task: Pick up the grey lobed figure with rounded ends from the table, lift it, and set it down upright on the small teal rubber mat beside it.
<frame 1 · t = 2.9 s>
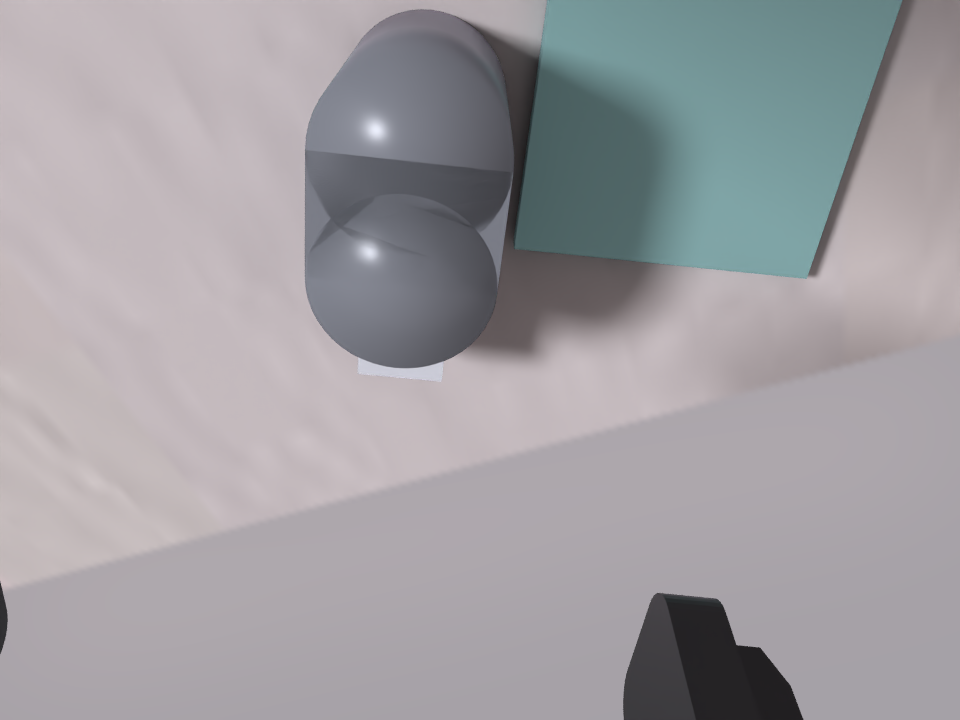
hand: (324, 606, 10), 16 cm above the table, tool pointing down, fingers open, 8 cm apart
mat: (693, 108, 23), on the table
grey lobed figure: (421, 149, 24), on the table
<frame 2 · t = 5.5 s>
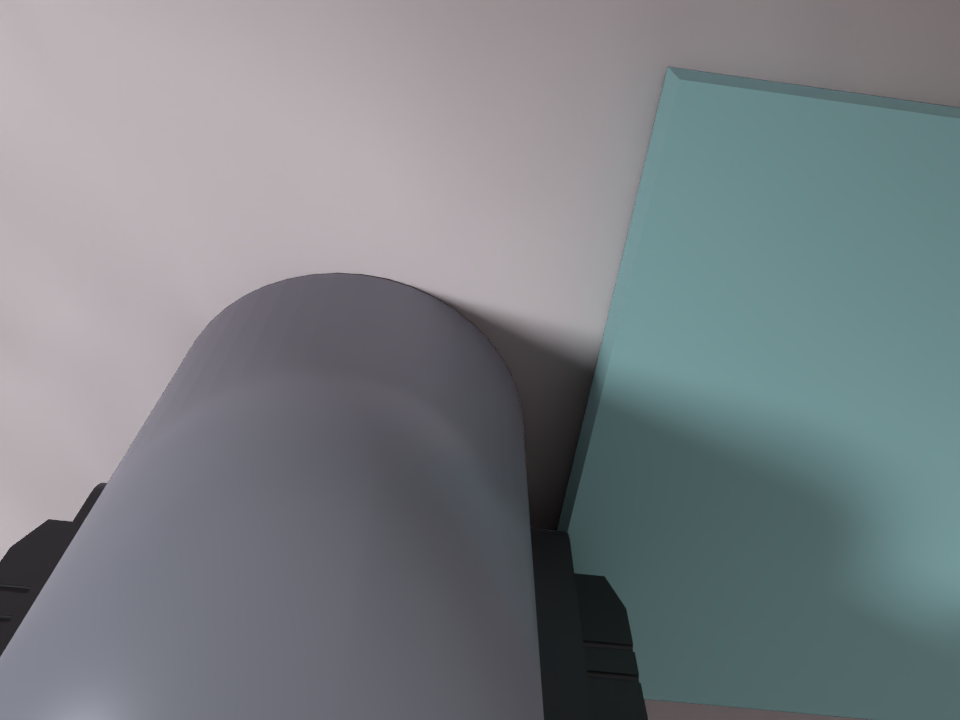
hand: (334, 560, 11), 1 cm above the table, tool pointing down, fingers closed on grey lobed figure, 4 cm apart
mat: (913, 461, 11), on the table
grey lobed figure: (345, 516, 12), on the table, touching gripper
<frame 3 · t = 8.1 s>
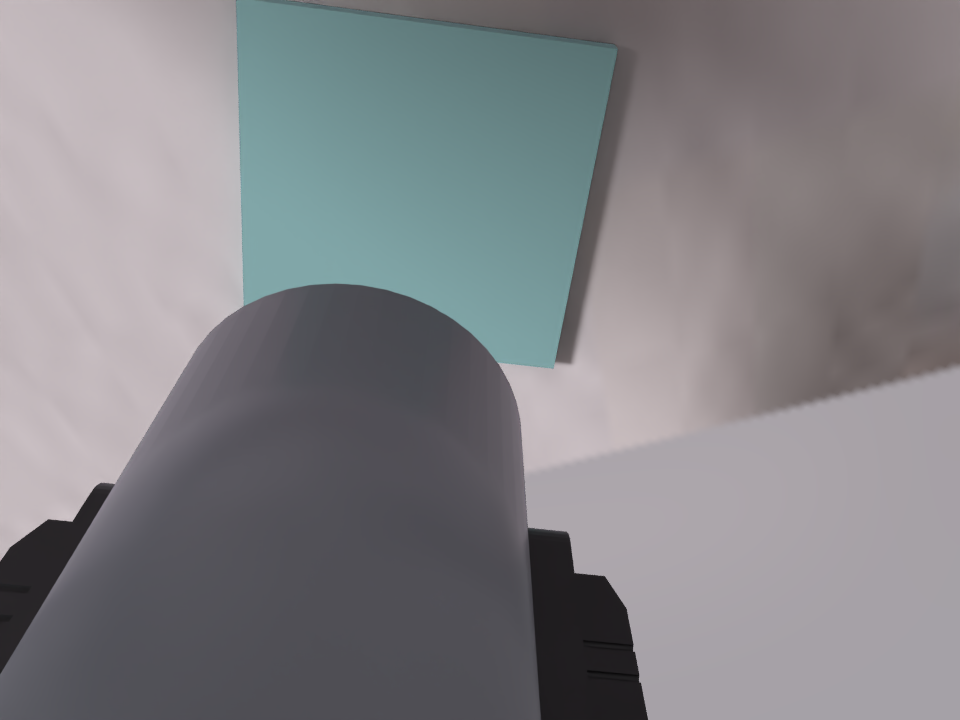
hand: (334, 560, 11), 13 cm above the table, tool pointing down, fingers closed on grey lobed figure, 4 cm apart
mat: (415, 197, 22), on the table
grey lobed figure: (344, 524, 12), point 12 cm above the table, touching gripper
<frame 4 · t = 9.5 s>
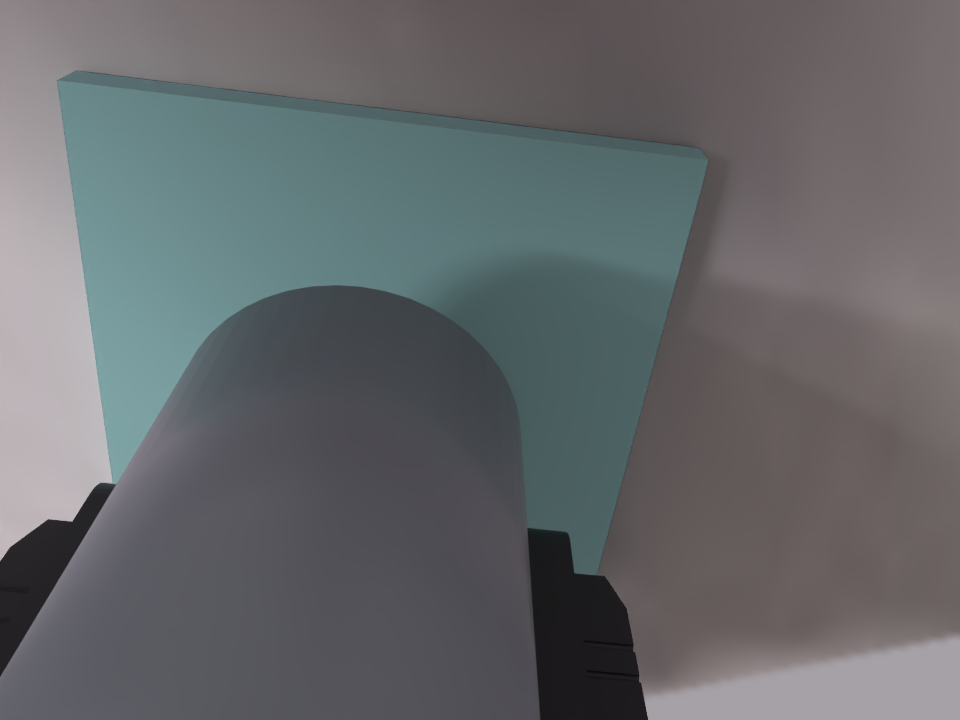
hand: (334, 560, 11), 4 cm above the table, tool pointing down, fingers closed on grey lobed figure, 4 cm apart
mat: (376, 373, 14), on the table
grey lobed figure: (344, 525, 12), point 3 cm above the table, touching gripper
when the fingers open (3 cm above the table, at t = 10.6 s): grey lobed figure drops 2 cm, resting on mat.
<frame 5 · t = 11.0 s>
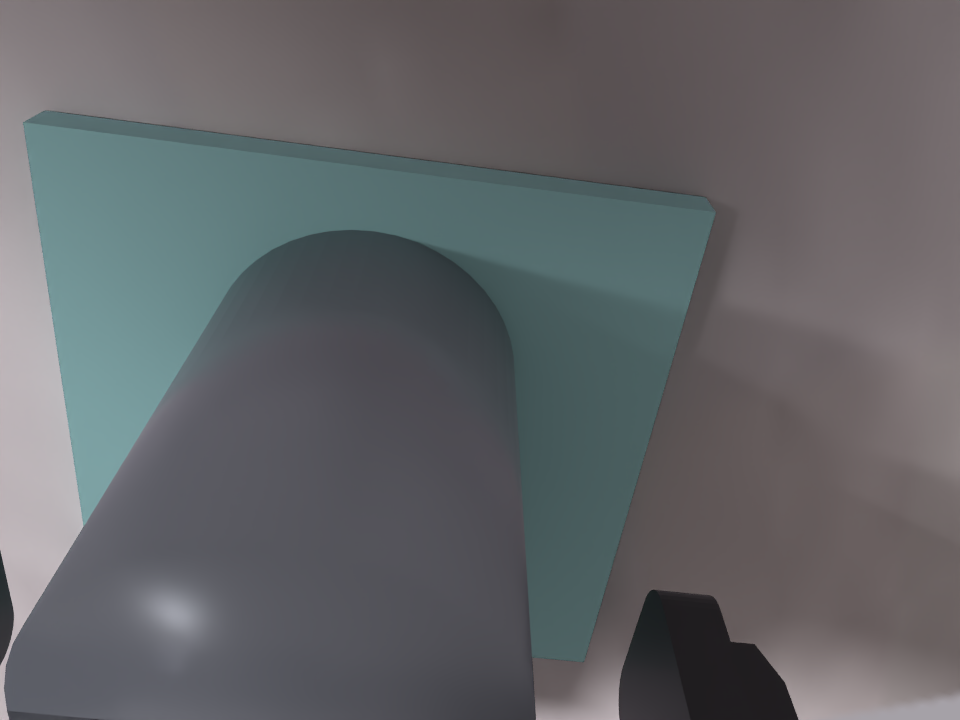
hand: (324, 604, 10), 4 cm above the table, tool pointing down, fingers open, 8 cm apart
mat: (363, 423, 13), on the table
grey lobed figure: (356, 451, 13), point 1 cm above the table, touching mat
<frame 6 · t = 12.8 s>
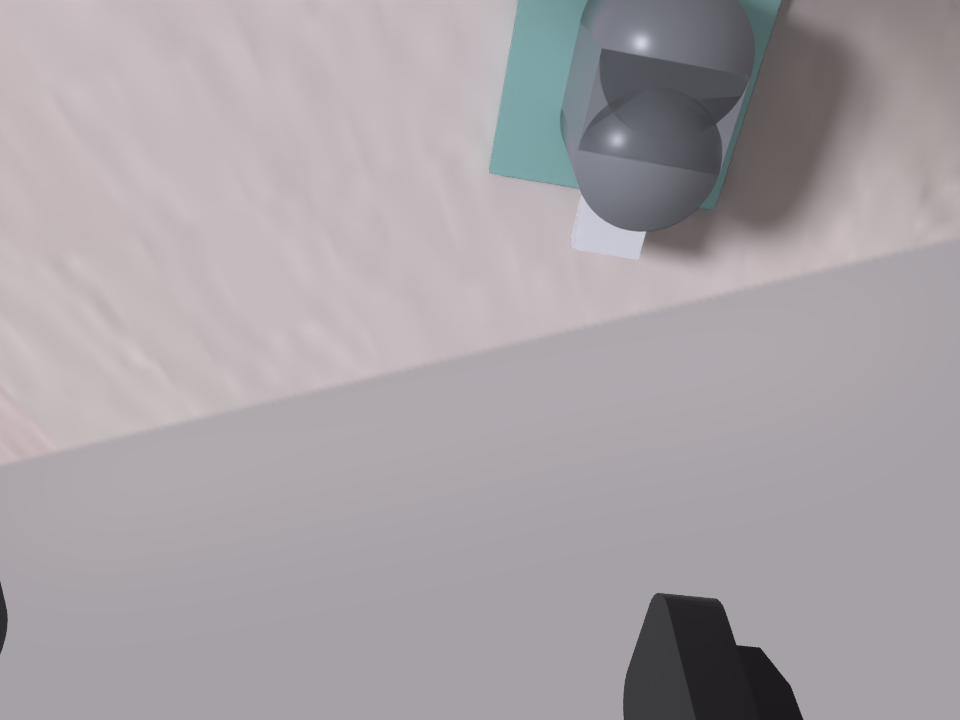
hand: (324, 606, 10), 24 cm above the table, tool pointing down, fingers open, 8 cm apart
mat: (629, 70, 30), on the table
grey lobed figure: (630, 76, 30), point 1 cm above the table, touching mat
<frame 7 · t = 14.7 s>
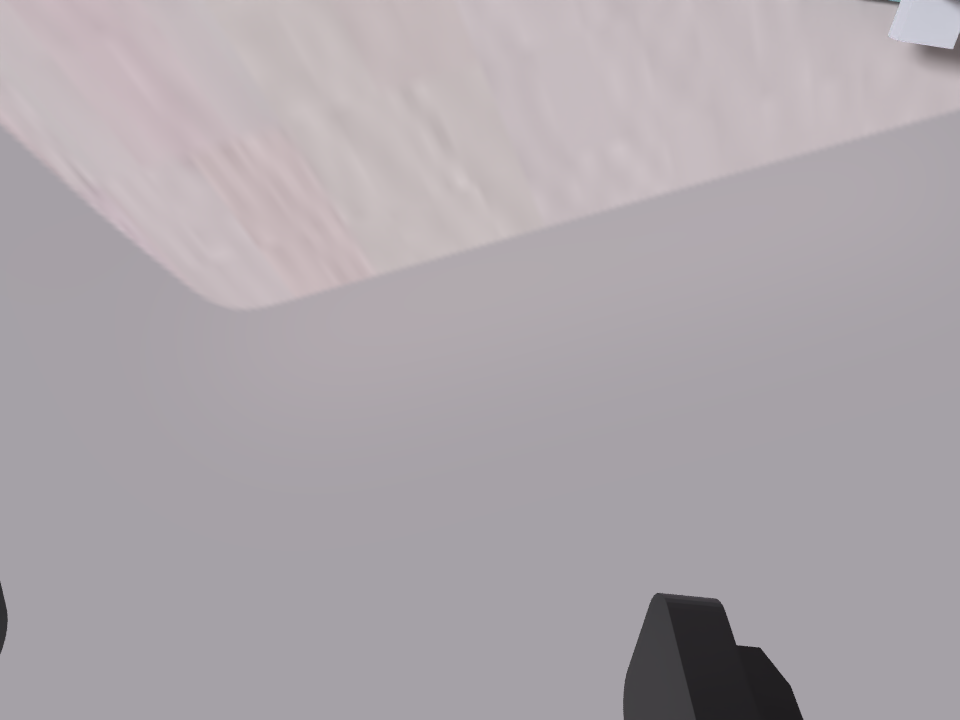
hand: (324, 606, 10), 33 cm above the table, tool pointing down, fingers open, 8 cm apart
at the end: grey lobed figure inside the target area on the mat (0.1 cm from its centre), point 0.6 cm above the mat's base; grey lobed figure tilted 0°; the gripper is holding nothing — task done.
